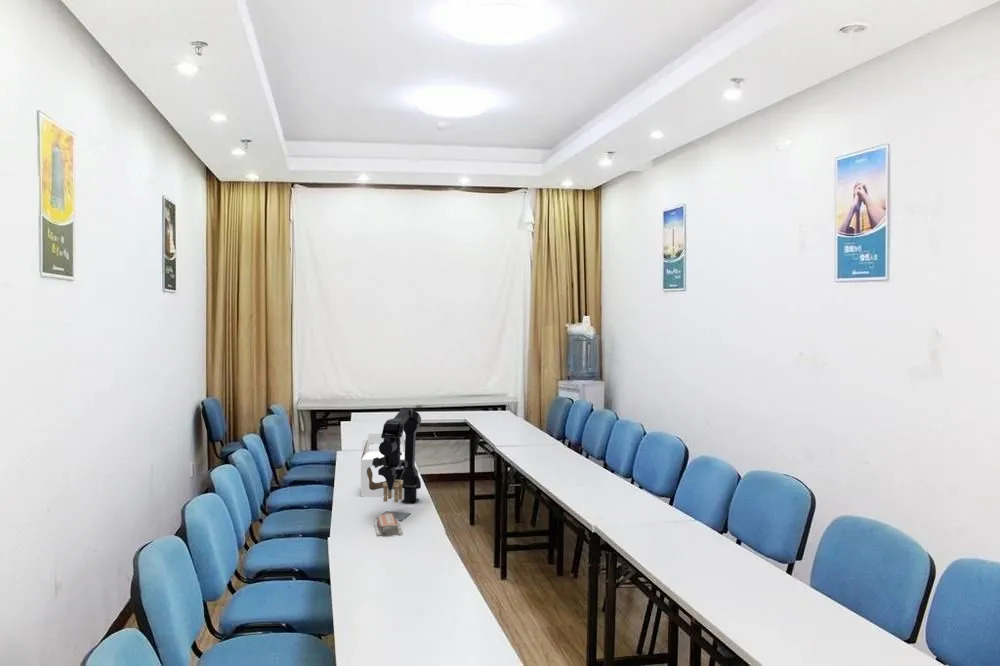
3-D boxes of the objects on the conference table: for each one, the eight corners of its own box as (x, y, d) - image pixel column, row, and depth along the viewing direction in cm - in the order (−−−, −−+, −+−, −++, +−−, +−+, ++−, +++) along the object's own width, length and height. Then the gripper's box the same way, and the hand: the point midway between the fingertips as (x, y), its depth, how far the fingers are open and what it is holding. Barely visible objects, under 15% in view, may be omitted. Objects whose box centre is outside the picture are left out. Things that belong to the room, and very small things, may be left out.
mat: (386, 512, 314) (386, 510, 314) (410, 513, 311) (410, 512, 311) (376, 519, 303) (376, 518, 303) (401, 521, 301) (401, 520, 301)
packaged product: (403, 524, 282) (376, 525, 280) (403, 536, 283) (376, 538, 280) (398, 511, 300) (373, 512, 298) (398, 522, 300) (373, 524, 298)
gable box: (410, 489, 353) (410, 431, 352) (408, 496, 340) (409, 436, 339) (363, 489, 351) (363, 431, 350) (360, 497, 338) (360, 436, 337)
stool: (388, 497, 311) (388, 479, 311) (402, 498, 309) (403, 480, 309) (382, 501, 305) (382, 482, 304) (397, 502, 303) (397, 483, 303)
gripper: (383, 445, 317) (383, 481, 318) (366, 454, 299) (366, 492, 300) (408, 447, 315) (407, 483, 315) (392, 455, 297) (391, 493, 297)
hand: (393, 487), depth 307 cm, fingers closed on stool, 6 cm apart
